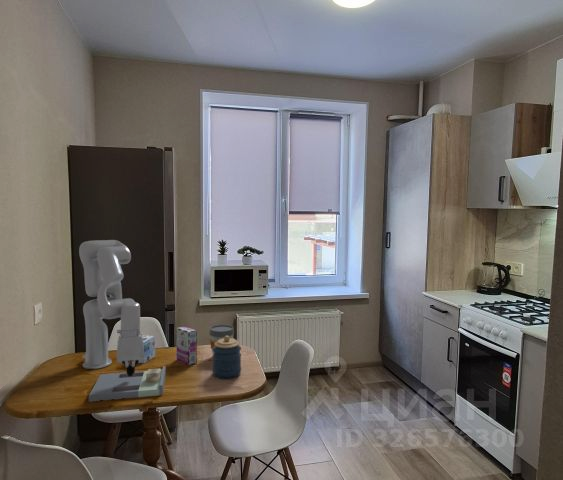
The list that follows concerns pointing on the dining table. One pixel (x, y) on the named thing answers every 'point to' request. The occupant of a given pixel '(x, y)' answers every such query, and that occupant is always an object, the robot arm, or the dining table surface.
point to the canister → (226, 358)
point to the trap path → (126, 386)
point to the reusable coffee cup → (220, 333)
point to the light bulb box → (148, 348)
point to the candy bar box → (187, 345)
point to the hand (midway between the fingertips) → (130, 375)
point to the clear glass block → (153, 375)
